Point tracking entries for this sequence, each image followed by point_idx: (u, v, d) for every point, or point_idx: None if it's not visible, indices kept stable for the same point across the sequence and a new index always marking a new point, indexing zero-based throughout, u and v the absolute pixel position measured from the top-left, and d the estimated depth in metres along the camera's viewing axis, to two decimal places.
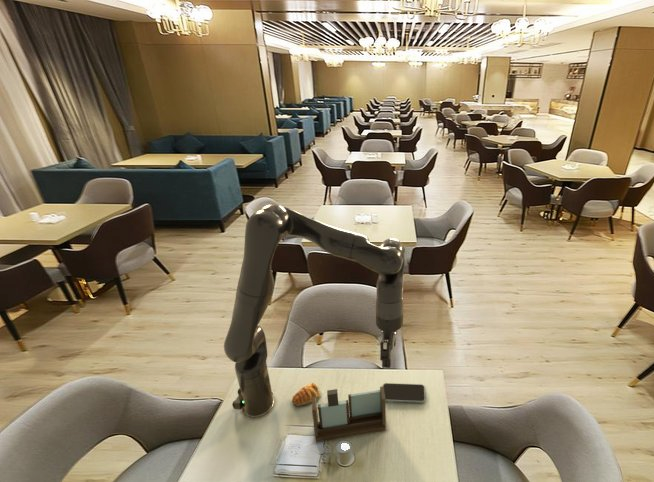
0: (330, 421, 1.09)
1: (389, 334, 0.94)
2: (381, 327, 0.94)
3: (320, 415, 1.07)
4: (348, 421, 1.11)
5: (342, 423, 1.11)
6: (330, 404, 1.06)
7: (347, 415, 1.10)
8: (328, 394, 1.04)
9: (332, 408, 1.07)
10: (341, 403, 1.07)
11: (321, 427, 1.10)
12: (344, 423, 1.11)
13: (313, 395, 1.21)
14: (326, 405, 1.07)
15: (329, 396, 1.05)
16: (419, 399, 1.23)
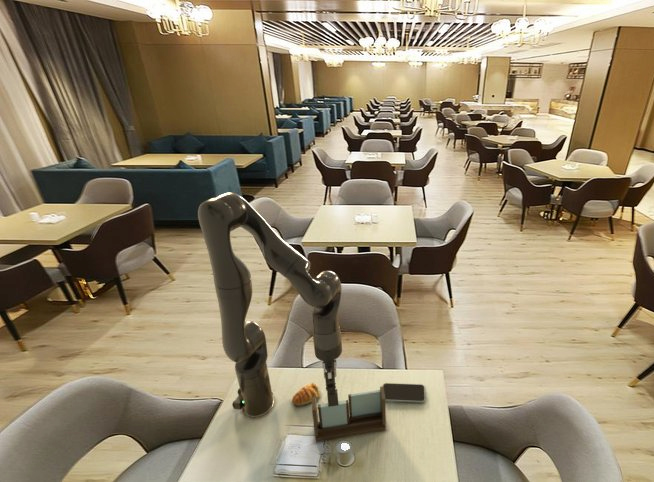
0: (330, 421, 1.09)
1: (331, 363, 0.96)
2: (322, 358, 0.95)
3: (320, 415, 1.07)
4: (348, 421, 1.11)
5: (342, 423, 1.11)
6: (330, 404, 1.06)
7: (347, 415, 1.10)
8: None
9: (332, 408, 1.07)
10: (341, 403, 1.07)
11: (321, 427, 1.10)
12: (344, 423, 1.11)
13: (313, 395, 1.21)
14: (326, 405, 1.07)
15: (329, 396, 1.05)
16: (419, 399, 1.23)
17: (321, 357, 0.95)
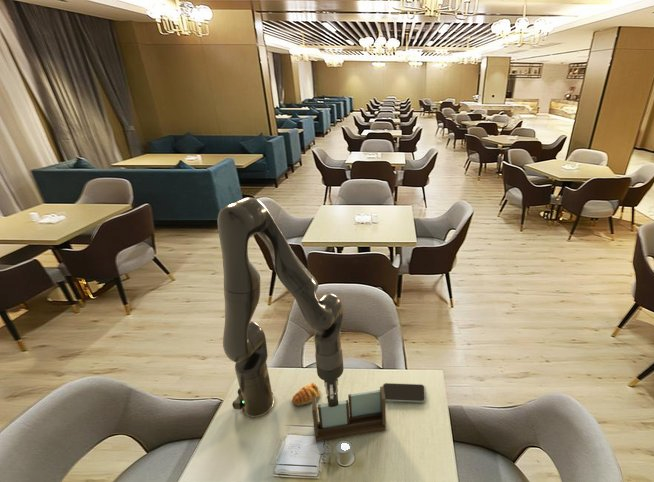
0: (330, 421, 1.09)
1: (333, 382, 0.99)
2: (324, 378, 0.98)
3: (320, 415, 1.07)
4: (347, 421, 1.11)
5: (342, 423, 1.11)
6: None
7: (347, 415, 1.10)
8: None
9: (332, 408, 1.07)
10: (341, 403, 1.07)
11: (321, 427, 1.10)
12: (344, 423, 1.11)
13: (313, 395, 1.21)
14: (326, 405, 1.07)
15: None
16: (419, 399, 1.23)
17: (323, 377, 0.98)
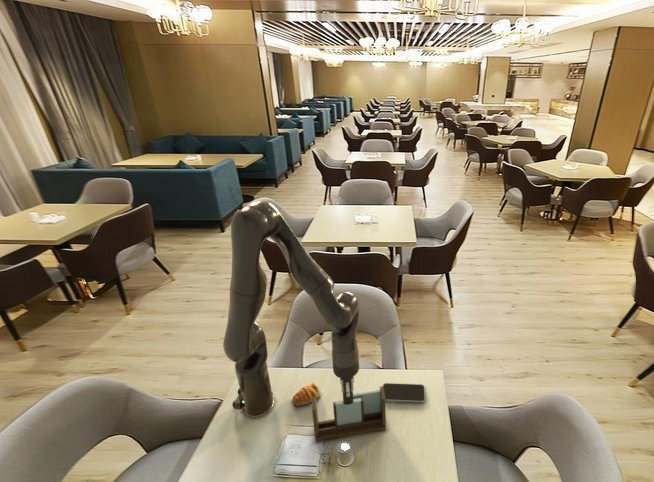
0: (345, 419, 1.10)
1: (349, 380, 1.00)
2: (341, 375, 0.99)
3: (335, 413, 1.08)
4: (362, 418, 1.12)
5: (356, 421, 1.12)
6: None
7: (361, 413, 1.11)
8: (343, 392, 1.05)
9: (347, 406, 1.08)
10: (356, 401, 1.08)
11: (336, 425, 1.11)
12: (358, 421, 1.12)
13: (313, 395, 1.21)
14: (341, 402, 1.08)
15: None
16: (419, 399, 1.23)
17: (340, 374, 0.99)
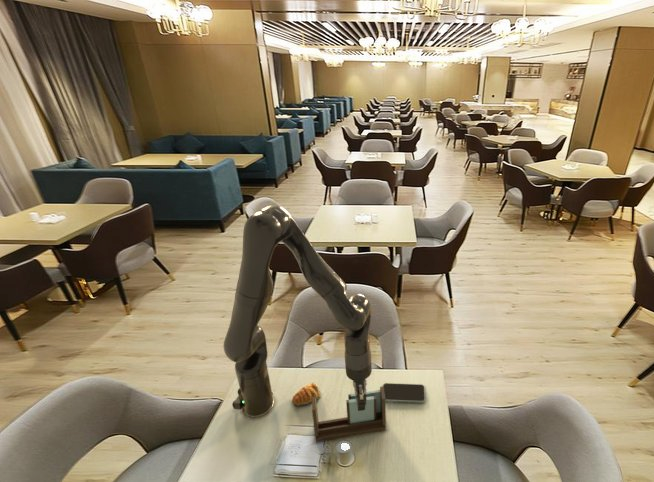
0: (357, 417, 1.11)
1: (362, 382, 1.00)
2: (354, 378, 0.99)
3: (348, 411, 1.09)
4: (374, 416, 1.13)
5: (369, 419, 1.13)
6: None
7: (374, 411, 1.11)
8: None
9: None
10: (369, 399, 1.09)
11: (349, 422, 1.11)
12: (371, 419, 1.13)
13: (313, 395, 1.21)
14: (354, 400, 1.09)
15: None
16: (419, 399, 1.23)
17: (353, 377, 0.99)
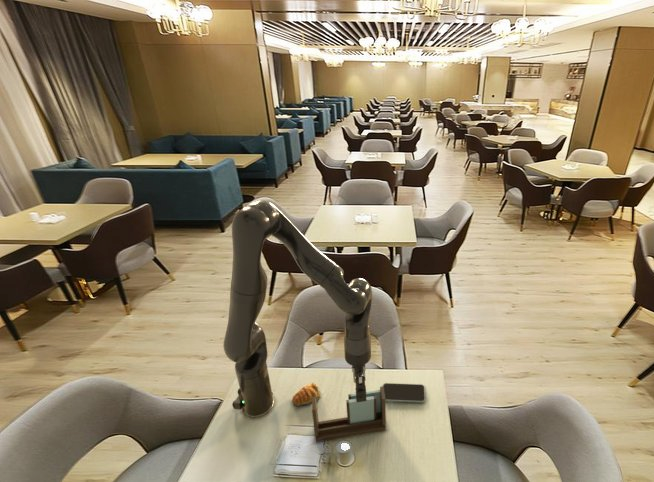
0: (357, 417, 1.11)
1: (361, 368, 0.99)
2: (353, 363, 0.98)
3: (348, 411, 1.09)
4: (374, 416, 1.13)
5: (369, 419, 1.13)
6: (358, 400, 1.08)
7: (374, 411, 1.11)
8: None
9: (360, 404, 1.09)
10: (369, 399, 1.09)
11: (349, 422, 1.11)
12: (371, 419, 1.13)
13: (313, 395, 1.21)
14: (354, 400, 1.09)
15: None
16: (419, 399, 1.23)
17: (352, 362, 0.98)
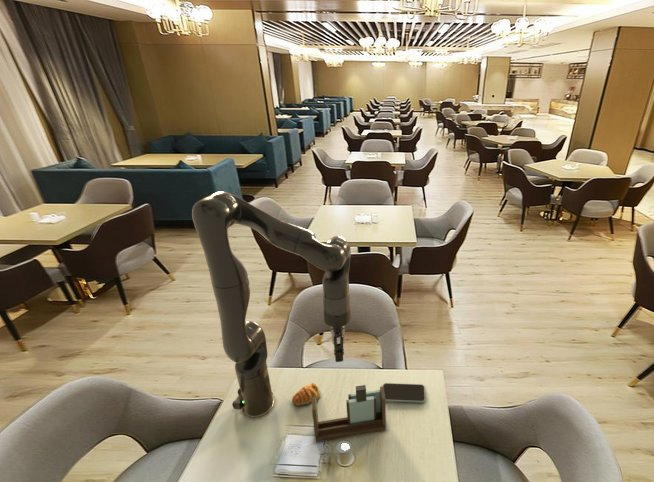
0: (357, 417, 1.11)
1: (340, 329, 0.97)
2: (331, 323, 0.96)
3: (348, 411, 1.09)
4: (374, 416, 1.13)
5: (369, 419, 1.13)
6: (358, 400, 1.08)
7: (374, 411, 1.11)
8: (357, 390, 1.06)
9: (360, 404, 1.09)
10: (369, 399, 1.09)
11: (349, 422, 1.11)
12: (371, 419, 1.13)
13: (313, 395, 1.21)
14: (354, 400, 1.09)
15: (358, 392, 1.06)
16: (419, 399, 1.23)
17: (330, 322, 0.96)
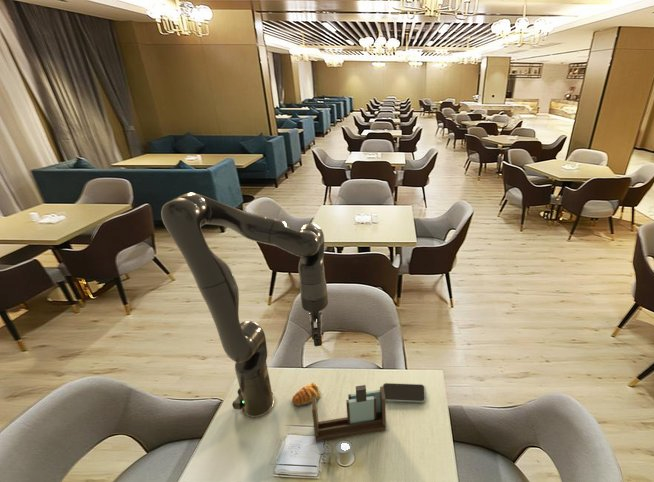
0: (357, 417, 1.11)
1: (317, 313, 1.00)
2: (308, 308, 1.00)
3: (348, 411, 1.09)
4: (374, 416, 1.13)
5: (369, 419, 1.13)
6: (358, 400, 1.08)
7: (374, 411, 1.11)
8: (357, 390, 1.06)
9: (360, 404, 1.09)
10: (369, 399, 1.09)
11: (349, 422, 1.11)
12: (371, 419, 1.13)
13: (313, 395, 1.21)
14: (354, 400, 1.09)
15: (358, 392, 1.06)
16: (419, 399, 1.23)
17: (307, 307, 1.00)
